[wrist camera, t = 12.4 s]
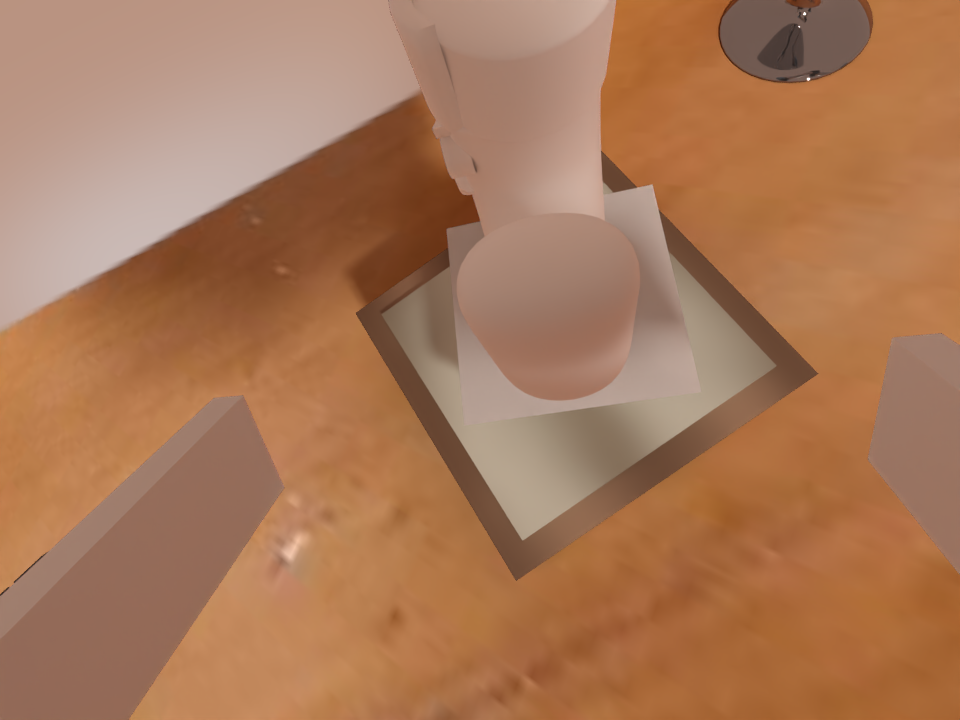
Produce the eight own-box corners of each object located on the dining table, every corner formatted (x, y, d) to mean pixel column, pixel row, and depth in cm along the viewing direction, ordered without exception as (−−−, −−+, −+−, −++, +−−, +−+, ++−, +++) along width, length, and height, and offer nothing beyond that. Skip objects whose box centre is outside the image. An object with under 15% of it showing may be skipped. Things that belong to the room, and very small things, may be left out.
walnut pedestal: (596, 196, 27) (594, 139, 23) (782, 397, 22) (821, 371, 18) (389, 341, 27) (352, 310, 23) (530, 569, 22) (514, 581, 18)
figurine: (639, 214, 21) (708, -364, 7) (690, 445, 18) (968, 221, 4) (468, 249, 23) (248, -184, 9) (491, 469, 20) (215, 358, 6)
